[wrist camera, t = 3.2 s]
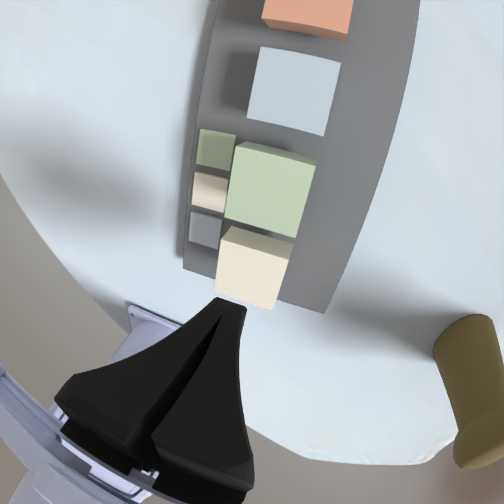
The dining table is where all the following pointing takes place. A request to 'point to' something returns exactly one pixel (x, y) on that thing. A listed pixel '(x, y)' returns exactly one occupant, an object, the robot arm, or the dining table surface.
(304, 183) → the key sage
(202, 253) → the keypad base
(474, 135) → the dining table surface
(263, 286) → the key cream
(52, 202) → the dining table surface
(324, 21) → the key terracotta
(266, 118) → the key blue
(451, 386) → the cork
